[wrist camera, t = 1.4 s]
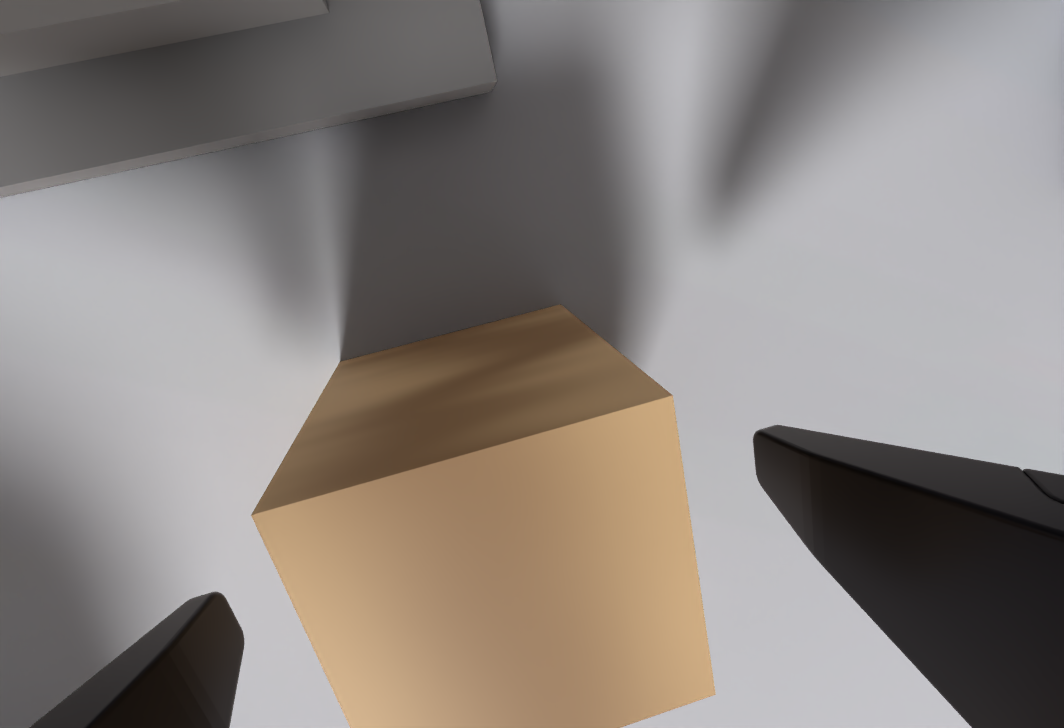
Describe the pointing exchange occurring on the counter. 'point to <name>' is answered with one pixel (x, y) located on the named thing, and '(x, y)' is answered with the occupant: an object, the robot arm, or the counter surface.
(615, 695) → the oak block
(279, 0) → the grey tray
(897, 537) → the robot arm
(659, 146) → the counter surface
